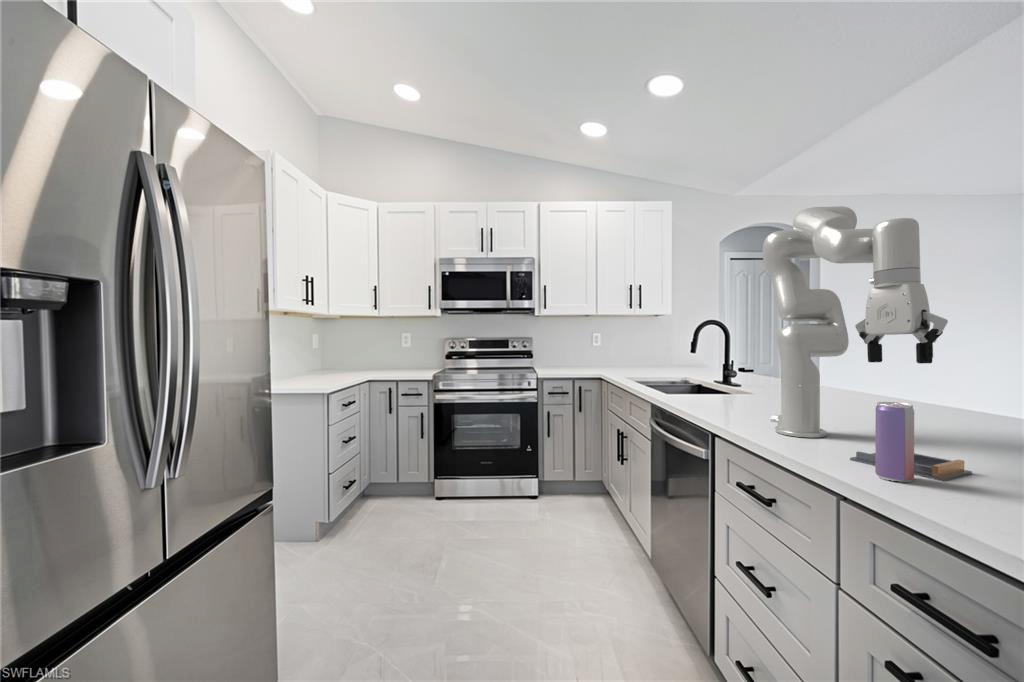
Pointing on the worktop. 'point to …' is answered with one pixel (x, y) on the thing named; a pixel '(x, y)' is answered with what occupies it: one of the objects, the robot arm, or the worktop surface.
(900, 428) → the beverage can
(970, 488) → the worktop surface
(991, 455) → the worktop surface
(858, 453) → the dock
